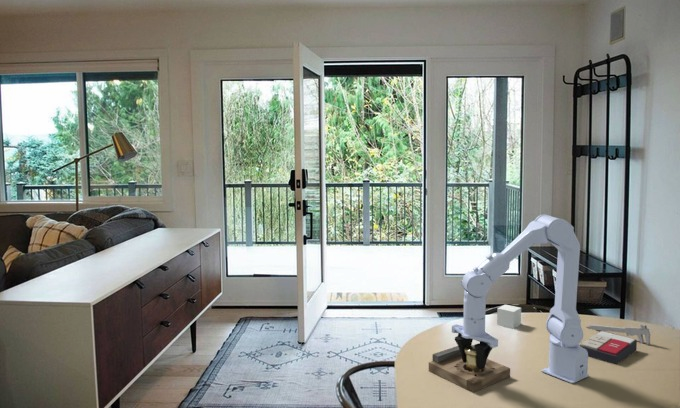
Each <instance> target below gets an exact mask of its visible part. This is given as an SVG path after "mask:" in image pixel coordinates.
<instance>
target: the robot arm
mask: <svg viewBox="0 0 680 408" xmlns="http://www.w3.org/2000/svg"><path fill="white" fill-rule="evenodd" d="M574 229H575V227H574V226H573V225H572V224H571V223H570V222H568V220H566V219H564V218H558V217H555V216H552V215H550V214H543V213H542V214H540V215H538V216H537V217H536V218H535V219H534V220H532V221H530V222H529V223H528V224H527V226H526V228H525V229H523V231H522V232H521V233H519V235H518V236H516V237H515V239H514V240H512V241H511V242H510V243H509V244H508V245H507V246H506V247H505V248H504V249H503V250H502V251H501V252H493V253H492V254H491V253H489V254H487V255H486V256H485V258H486V259H485V260H484V261H482V263H480V264H479V265H478V266H474V267H473V268H472V270H471V271H468V272H466V273H465V274H464V275H463V277H462V279H461V280H460V284H461V287H462V289H463V290H464V291H463V320H462V321H463V323H462V324H463V325H460V324H453V325H451V333H453V334H457V336H455V337H454V341H455V342H456V344H457V345H456V346H458V347H459V349H460V352H461V356H462V360H463V362H464V363H466V354H465V347H466V346H469V345H473V341H476V342H479V343H476V344H474V347H475V350H476V354H477V367H478V369H483V368H485V364H486V361H487V359H488V358H489V355H490V353H491V352H492V350H493V349H494V348H498V347H499V339H498V338H496V337H494V336H492V335H490V334H489V333H488V332H486V305H487V303H486V301H487V300H486V295H488V293H489V291H490V289H491V285H492V284H494V283H495V282H496V281H497V280H498V279H499V278H500V277H501V276H503V275H504V274H505V273H506V272H507V271H508V270H509V269H510V265H511V264H510V263H511V262H512V261H514V259H516V258H517V257H518V256H520V255H521V254H523V253H524V252H525V251H526V250H528V249H529V248H531V247H532V246H533V245H536V244H537V245H538V244H549V243H550V244H551V245H552V246H554V247H555V248H556V249H557V260H556V261H557V262H556V263H557V264H556V277H555V294H554V305H553V306H552V307H551V308H550V309H549V315H548V318H547V319H546V322H545V328H546V330H547V332H548V333H549V347H548V367H545V368H542V369H541V372H543V373H545V374H547V375H550V376H552V377H554V378H558V379H560V380H562V381H564V382H565V381H566V382H568V383H570V384H575V383H578V381H581V380H583V379H585V378H587V377H589V376H590V374H589V373H588V369H589V357H588V352H587V350H586V349H584V348H582V347H581V346H580V345H581V344H580V343H581V342H582V340H583V339H584V330H583V328H582V324H581V321H582V319H581V318H580V316H579V313H578V311H577V301H578V300H577V299H578V298H577V297H578V283H579V282H578V281H579V269H580V255H581V243H580V242H579V239H578V238H577V235H576V233H575V231H574Z"/></svg>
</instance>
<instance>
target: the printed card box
mask: <svg viewBox="0 0 680 408" xmlns="http://www.w3.org/2000/svg"><path fill="white" fill-rule="evenodd" d="M637 343H638V340H637V339H634V338H631V337H627V336H623V335H619V334H615V333H610V332H608V331H601V330H599V331H598V332H597V333H596V334H594V335H592V336H591V337H589V338H587V339H586V340H585V341H583V342H582V343H581V344H579V345H580V346H581V347H582V348H584V349H586V350H587V352H588V358H592V359H595V360H599V361H602V362H606V363H610V364H612V365H618V364H619V363H621V362H623V361H624V360H625V359H627V358H628V357H629V356H631V355H633V354H634V353H636V352H637V349H638V348H637V345H638V344H637Z"/></svg>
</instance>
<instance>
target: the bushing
mask: <svg viewBox="0 0 680 408" xmlns="http://www.w3.org/2000/svg"><path fill="white" fill-rule="evenodd" d="M474 345H475V344H474ZM474 345H473V344H472V345H469V346H466V347H465V354H466V370H467V371H469V372H481V369H478V367H477V354H476V350H475V347H474Z"/></svg>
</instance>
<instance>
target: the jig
mask: <svg viewBox="0 0 680 408" xmlns="http://www.w3.org/2000/svg"><path fill="white" fill-rule="evenodd" d="M428 372H430V373H432V374H434V375H436V376H437V377H440V378H443V379H445V380H446V381H448V382H451V383H453V384H455V385H457V386H459V387H461V388H464V389H466V390H467V391H469V392H471V393H474V392H477V391H478V390H482V389H484V388H487V387H489V386H492V385H494V384H496V383H499V382H502V381H504V380H507V379H509V378H511V368H510V367H509V366H506V365H503V364H500V363H498V362H496V361H494V360H491V359H488V358H487V361H486V364H485V368H483V369H481V372H469V371H467V370H466V363H464V362H463V360H462V356H461V352H460V349H459V347H458V345H456V346H453V347H450V348H448V349H444V350H442V351H441V350H440V351H438V352H434V353H432V360H430V361H429V362H428Z"/></svg>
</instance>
